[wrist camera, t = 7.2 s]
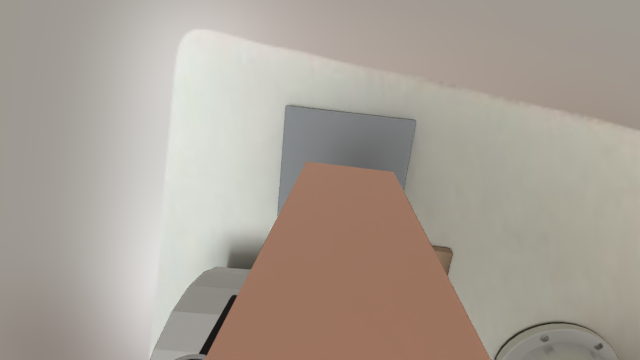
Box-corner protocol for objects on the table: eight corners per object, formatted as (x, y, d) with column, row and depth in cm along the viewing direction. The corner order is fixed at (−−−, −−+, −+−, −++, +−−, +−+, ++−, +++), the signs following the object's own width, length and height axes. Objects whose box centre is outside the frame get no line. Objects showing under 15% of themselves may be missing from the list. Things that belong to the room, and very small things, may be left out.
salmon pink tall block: (393, 172, 14) (586, 542, 3) (367, 315, 17) (411, 825, 5) (306, 161, 14) (148, 467, 3) (292, 304, 17) (178, 775, 5)
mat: (414, 119, 29) (416, 120, 28) (394, 227, 32) (395, 231, 31) (287, 105, 30) (285, 105, 29) (279, 212, 33) (277, 216, 32)
